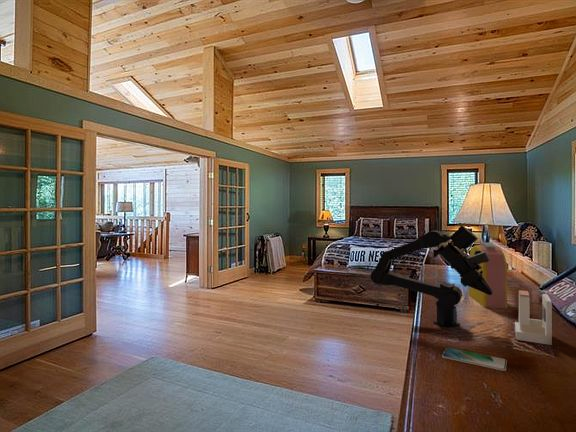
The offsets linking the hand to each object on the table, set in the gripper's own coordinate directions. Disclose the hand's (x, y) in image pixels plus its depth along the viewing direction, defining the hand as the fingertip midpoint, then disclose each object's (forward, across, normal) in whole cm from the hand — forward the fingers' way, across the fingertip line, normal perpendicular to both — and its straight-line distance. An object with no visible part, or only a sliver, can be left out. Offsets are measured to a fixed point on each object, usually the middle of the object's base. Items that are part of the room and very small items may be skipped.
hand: (491, 293), depth 115 cm
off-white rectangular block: (+13, 0, +1) cm, 13 cm away
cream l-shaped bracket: (+17, 0, +1) cm, 17 cm away
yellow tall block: (+8, +43, +11) cm, 45 cm away
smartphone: (+6, -28, +12) cm, 31 cm away
